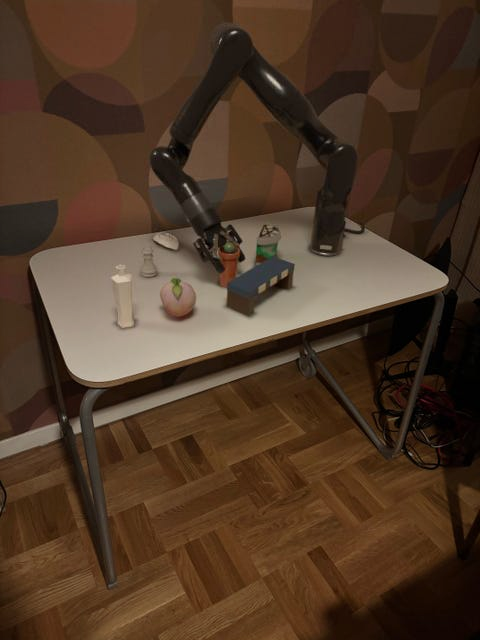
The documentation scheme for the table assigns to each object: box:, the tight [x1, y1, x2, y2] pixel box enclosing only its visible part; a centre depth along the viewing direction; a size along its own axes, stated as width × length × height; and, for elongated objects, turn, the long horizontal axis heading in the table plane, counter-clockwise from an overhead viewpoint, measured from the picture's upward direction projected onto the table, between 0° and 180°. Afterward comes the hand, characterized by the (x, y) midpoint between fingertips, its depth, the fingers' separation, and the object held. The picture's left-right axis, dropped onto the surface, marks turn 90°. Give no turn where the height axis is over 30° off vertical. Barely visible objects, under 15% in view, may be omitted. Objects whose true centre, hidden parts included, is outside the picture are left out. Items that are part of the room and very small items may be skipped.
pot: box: [217, 243, 241, 288], centre depth 134 cm, size 6×6×12 cm
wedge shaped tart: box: [255, 221, 282, 266], centre depth 147 cm, size 12×6×10 cm, turn 168°
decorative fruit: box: [159, 277, 197, 317], centre depth 120 cm, size 9×8×10 cm
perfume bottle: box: [110, 264, 135, 329], centre depth 115 cm, size 5×4×15 cm
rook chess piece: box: [140, 245, 158, 278], centre depth 138 cm, size 4×4×8 cm
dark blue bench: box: [226, 256, 296, 317], centre depth 130 cm, size 20×7×7 cm, turn 142°
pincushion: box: [152, 225, 180, 251], centre depth 155 cm, size 12×6×6 cm, turn 38°
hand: (233, 266), depth 134 cm, fingers open, 8 cm apart
